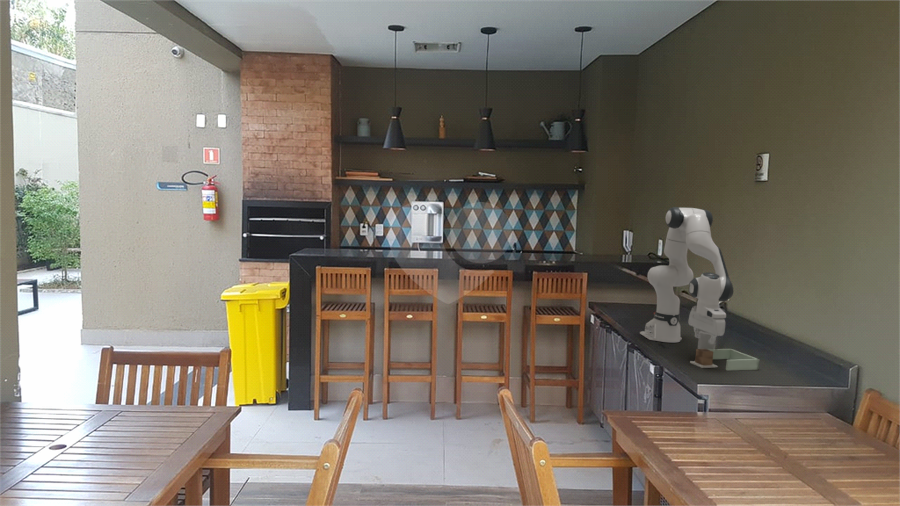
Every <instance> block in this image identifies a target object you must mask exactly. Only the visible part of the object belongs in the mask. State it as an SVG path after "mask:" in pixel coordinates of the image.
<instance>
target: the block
mask: <svg viewBox="0 0 900 506" xmlns="http://www.w3.org/2000/svg"><path fill="white" fill-rule="evenodd" d="M694 361H695V362H696V363H698V364H700V365H712V364H713V361H714V359H713V351H710V350H708V349H698V348H696V349H695V359H694Z"/></svg>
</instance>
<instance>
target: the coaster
mask: <svg viewBox="0 0 900 506" xmlns="http://www.w3.org/2000/svg"><path fill="white" fill-rule="evenodd" d="M689 363H690V364H692V365H694V366H697V367H699V368H701V369H704V368H706V369H708V368H709V369H710V368H718V365H716V364H714V363H712V365H700V364H698V363H696V362H695V360H694V361H693V360H690V361H689Z"/></svg>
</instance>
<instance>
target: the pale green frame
mask: <svg viewBox="0 0 900 506" xmlns="http://www.w3.org/2000/svg"><path fill="white" fill-rule="evenodd" d="M708 350H710V351H713V360H725V361H726V362H725V363H726V365H725V371H731V372H732V371H754V370H755V371H756V370H757V371H758V370H759V369H760V359H759V358H757V357H754V356H752V355H748V354H747V353H743V352H740V351H738V350H736V349H732V348H715V349H708Z"/></svg>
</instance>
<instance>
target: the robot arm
mask: <svg viewBox="0 0 900 506" xmlns="http://www.w3.org/2000/svg"><path fill="white" fill-rule="evenodd" d="M664 219H665V224H666V225H667V227H668V230H667V233H666V239H665V244H664V248H663V253H664V255H665V257H667V258H668V260H669V264H668V265H656V266H652V267H650V269H649V270H648V271H647V280H648V283H649V284H650V285H651V286H652V287H653V288H654V290H655V294H656V311H653V318H652V319H650V320H649V321H648V322H646V323H645V327H644V330H642V331H639V334H640V335H642V336H643V337H645V338H647V339H648V340H650V341H657V342H663V343H679V342H681V341H682V339H683V338H682V336H681V324H680V322H679V321H680V318H681V316H680V306H681V299H680V298H679V296H678V295H676V294H675V292H674V288H675V287H685V286H688V294H689V295H690V296H691V297H692V298H694V299H697V303H696V305H694V306H692V308H691V310H690V312H689V316H688V320H687V322H688V326H691V327H693V332H694V337H695V338H697V339H698V338H700V334H699V331H700V330H703V331H705V332H708V333H710V334H711V338H710V339H709V341H708V343H710V344H714V340H715V339H717V337H723V336H724V334H725V332H726V331H725V329H726V318H727V313H726V312H725V311H724V310H723V309H721V307H720V302H726V301H728V300H730V298H732V297H733V296H734V285H733V283H732V281H731V279H730V277H729V273H728V269H727V265H726V262H725V259H724V255H723V253H722V250H721V248H720V247H719V246H717V245H716V244H715V242H714V240H713V238H712V232H711V228H712V225H713V223H714V220H713V219H714V217H713V214H712V212H711V211H709V210H708V209H704V208H703V209H701V208H696V207H695V208H694V207H678V206H674V207H670V208H669V209H668V210H667V211H666V213H665V218H664ZM688 250H689V251H690V252H691V253H693V254H694V255H696V256H699V257H701V258H703V259H706V260H708V261H710V263H711V264H712V266H713V269H714V272H707V271H706V272H702V274H701V275H700V276H699V277H694V272H693V270H692V269H691V267H690V266H689V263H688Z"/></svg>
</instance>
